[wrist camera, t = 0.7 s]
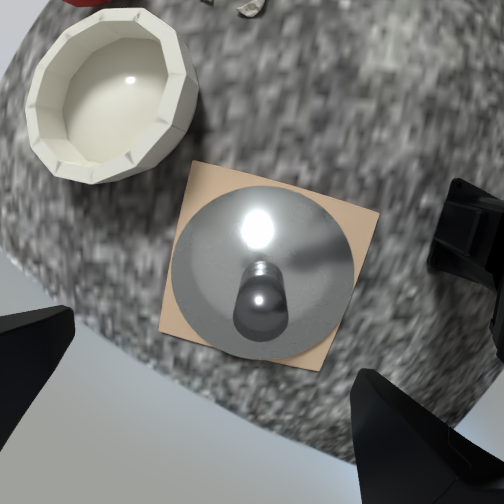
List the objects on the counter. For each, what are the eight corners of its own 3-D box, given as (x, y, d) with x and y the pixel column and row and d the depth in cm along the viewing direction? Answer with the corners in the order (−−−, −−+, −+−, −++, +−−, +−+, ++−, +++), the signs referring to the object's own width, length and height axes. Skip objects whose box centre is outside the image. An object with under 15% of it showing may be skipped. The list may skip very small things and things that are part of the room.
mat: (377, 212, 19) (379, 213, 19) (318, 368, 22) (318, 371, 22) (194, 160, 19) (192, 160, 18) (160, 328, 22) (158, 330, 22)
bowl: (218, 38, 17) (208, 11, 13) (175, 193, 19) (153, 199, 16) (85, 31, 16) (57, 13, 13) (48, 164, 19) (13, 166, 15)
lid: (374, 215, 19) (413, 234, 13) (317, 367, 22) (328, 422, 16) (195, 164, 19) (166, 163, 13) (162, 328, 22) (133, 375, 16)
